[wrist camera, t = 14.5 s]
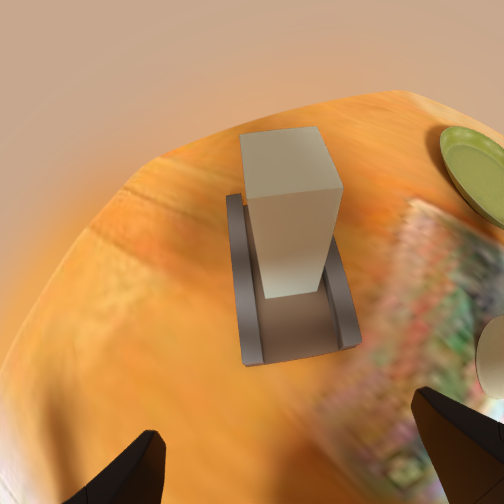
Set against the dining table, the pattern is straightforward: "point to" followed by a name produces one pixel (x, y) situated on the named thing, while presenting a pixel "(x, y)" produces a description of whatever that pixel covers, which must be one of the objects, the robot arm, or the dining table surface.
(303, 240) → the white rectangular block
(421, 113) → the dining table surface
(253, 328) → the floor track
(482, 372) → the can
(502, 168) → the saucer
